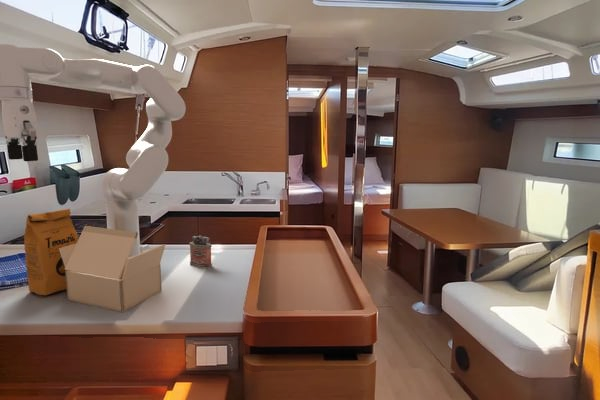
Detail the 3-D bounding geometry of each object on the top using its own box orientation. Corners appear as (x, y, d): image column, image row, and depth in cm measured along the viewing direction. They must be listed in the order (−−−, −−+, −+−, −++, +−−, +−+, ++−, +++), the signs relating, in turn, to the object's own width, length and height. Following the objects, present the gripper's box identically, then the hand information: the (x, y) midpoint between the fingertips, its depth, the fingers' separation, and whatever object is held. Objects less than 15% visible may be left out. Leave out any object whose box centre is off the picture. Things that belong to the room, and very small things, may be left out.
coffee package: (90, 285, 108) (84, 209, 104) (42, 300, 98) (33, 217, 94) (72, 278, 113) (66, 205, 110) (24, 291, 103) (16, 212, 99)
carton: (104, 280, 112) (101, 235, 109) (168, 292, 104) (166, 243, 102) (61, 299, 99) (56, 248, 96) (130, 313, 91) (127, 259, 89)
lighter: (187, 265, 126) (186, 236, 125) (194, 262, 129) (193, 233, 128) (208, 268, 123) (207, 238, 122) (214, 265, 126) (213, 236, 125)
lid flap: (86, 226, 101) (84, 225, 101) (138, 233, 96) (136, 232, 95) (66, 270, 96) (64, 269, 96) (119, 279, 91) (117, 278, 90)
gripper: (45, 94, 98) (53, 160, 101) (18, 97, 108) (25, 157, 111) (11, 92, 92) (20, 162, 95) (-15, 95, 102) (-6, 159, 105)
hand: (23, 160), depth 103 cm, fingers open, 9 cm apart
